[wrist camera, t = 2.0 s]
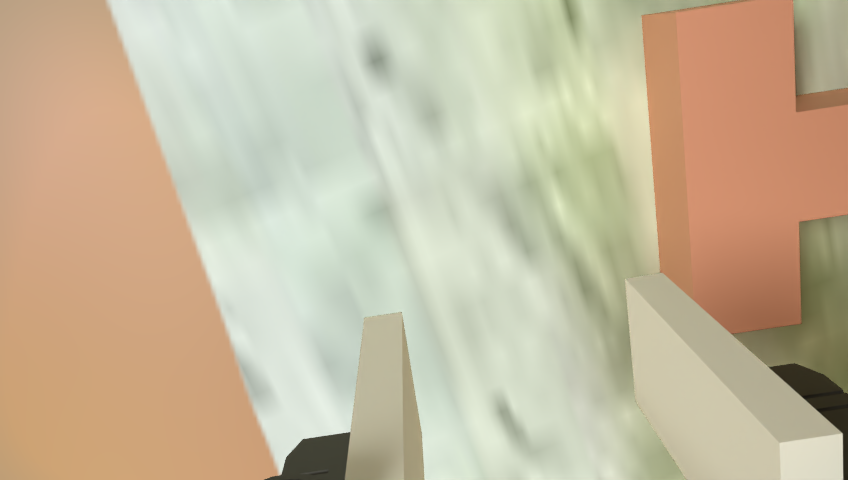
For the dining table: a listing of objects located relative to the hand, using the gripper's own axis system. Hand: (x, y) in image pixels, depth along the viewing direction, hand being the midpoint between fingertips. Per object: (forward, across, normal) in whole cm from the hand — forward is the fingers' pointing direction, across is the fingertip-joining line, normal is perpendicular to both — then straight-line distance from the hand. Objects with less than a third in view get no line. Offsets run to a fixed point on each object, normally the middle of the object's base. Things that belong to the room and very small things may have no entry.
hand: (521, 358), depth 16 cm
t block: (+17, +14, 0) cm, 21 cm away
